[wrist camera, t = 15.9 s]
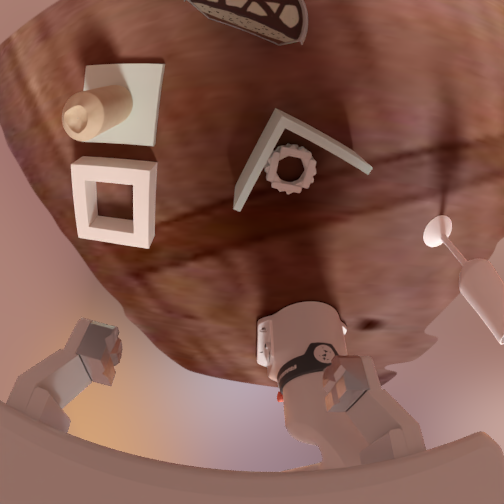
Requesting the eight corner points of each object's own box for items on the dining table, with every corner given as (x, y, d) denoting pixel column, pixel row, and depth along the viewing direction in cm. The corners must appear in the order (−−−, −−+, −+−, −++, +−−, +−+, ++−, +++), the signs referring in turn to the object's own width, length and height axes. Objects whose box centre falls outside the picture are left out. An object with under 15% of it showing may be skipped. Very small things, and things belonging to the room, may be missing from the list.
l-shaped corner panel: (235, 184, 39) (233, 209, 33) (275, 107, 33) (282, 115, 27) (309, 217, 42) (319, 245, 36) (352, 149, 36) (372, 167, 30)
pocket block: (154, 235, 43) (148, 248, 40) (87, 225, 42) (78, 237, 39) (157, 162, 36) (149, 170, 33) (82, 156, 35) (70, 164, 32)
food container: (311, 13, 25) (334, -5, 17) (290, 51, 28) (306, 43, 20) (218, -23, 22) (209, -52, 14) (196, 15, 25) (179, -4, 17)
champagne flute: (435, 210, 41) (520, 311, 21) (457, 221, 42) (535, 315, 22) (416, 242, 45) (486, 349, 25) (440, 250, 46) (505, 349, 26)
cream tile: (155, 144, 35) (153, 146, 34) (85, 140, 33) (81, 141, 33) (165, 64, 29) (162, 64, 28) (89, 65, 27) (85, 65, 26)
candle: (89, 111, 30) (47, 129, 22) (110, 77, 28) (68, 84, 20) (119, 132, 32) (82, 154, 24) (141, 98, 30) (107, 109, 22)
